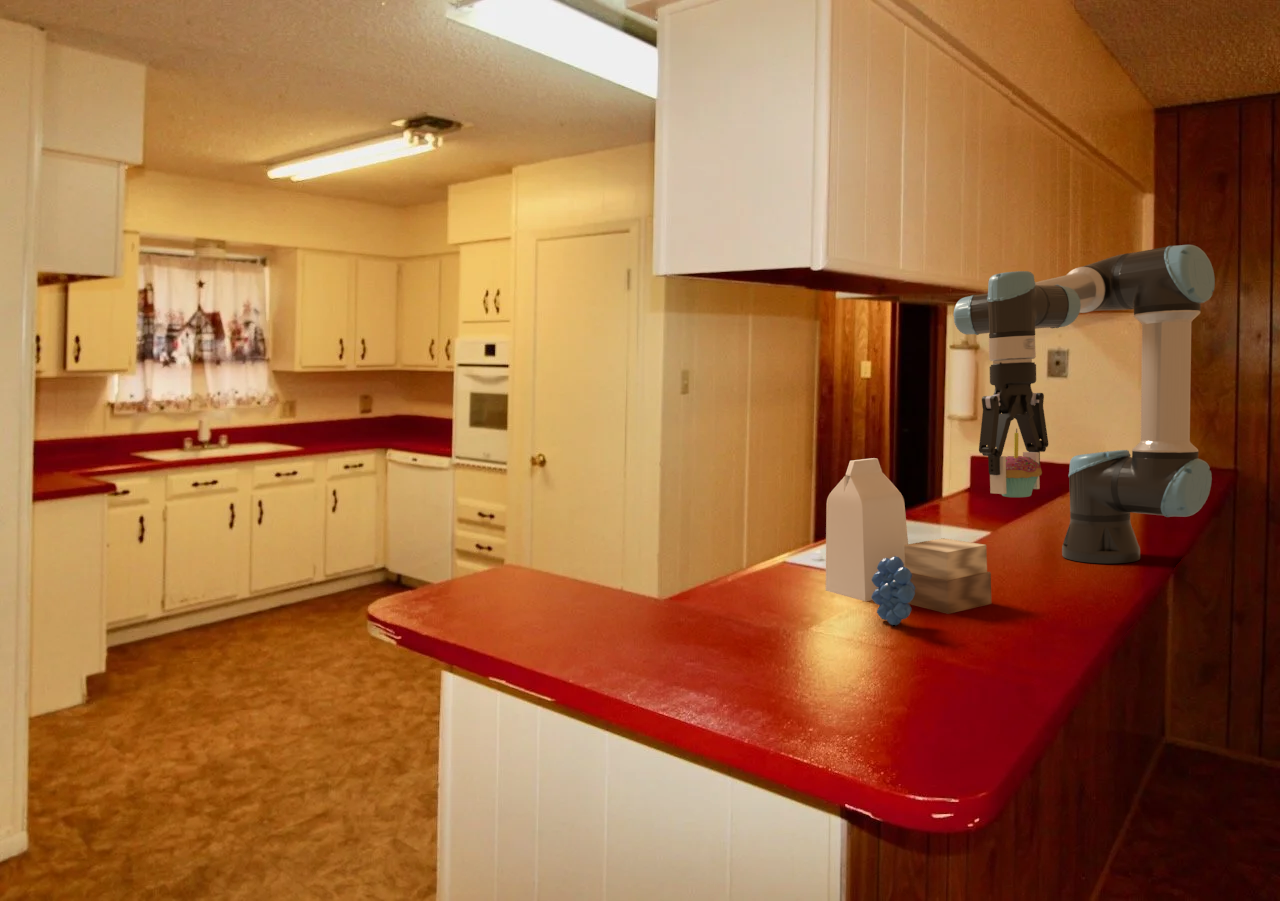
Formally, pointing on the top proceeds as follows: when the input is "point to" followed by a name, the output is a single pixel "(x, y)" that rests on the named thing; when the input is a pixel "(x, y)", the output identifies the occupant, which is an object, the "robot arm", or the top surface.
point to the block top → (946, 558)
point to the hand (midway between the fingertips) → (1015, 490)
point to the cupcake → (1020, 473)
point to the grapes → (893, 590)
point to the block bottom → (951, 592)
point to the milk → (862, 529)
